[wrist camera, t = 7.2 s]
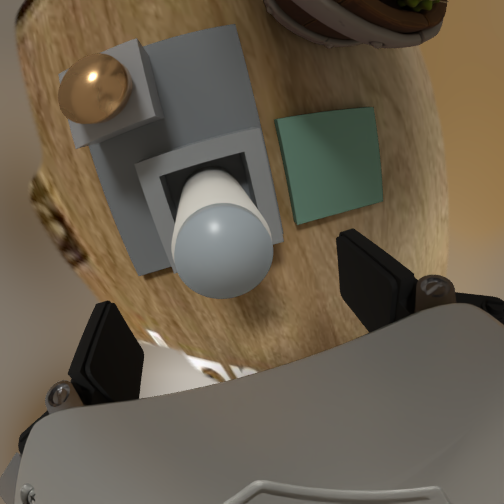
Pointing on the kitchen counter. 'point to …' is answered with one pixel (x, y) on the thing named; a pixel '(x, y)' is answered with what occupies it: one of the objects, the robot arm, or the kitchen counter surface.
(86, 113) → the plunger
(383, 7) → the flowerpot
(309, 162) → the mat
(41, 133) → the kitchen counter surface
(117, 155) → the grey base with tray
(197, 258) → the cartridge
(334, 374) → the robot arm
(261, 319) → the kitchen counter surface
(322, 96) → the kitchen counter surface
